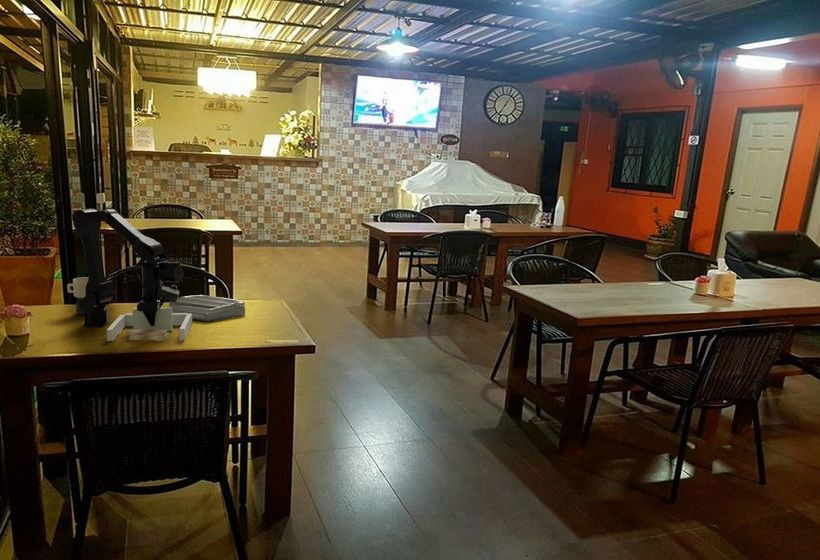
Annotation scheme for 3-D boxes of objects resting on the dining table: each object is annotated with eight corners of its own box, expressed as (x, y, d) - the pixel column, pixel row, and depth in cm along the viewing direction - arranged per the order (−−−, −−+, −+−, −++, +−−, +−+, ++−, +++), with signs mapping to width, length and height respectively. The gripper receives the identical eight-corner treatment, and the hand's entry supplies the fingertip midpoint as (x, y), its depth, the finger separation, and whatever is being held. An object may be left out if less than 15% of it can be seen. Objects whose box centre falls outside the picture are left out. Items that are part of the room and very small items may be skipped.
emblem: (244, 291, 240) (245, 308, 214) (244, 304, 242) (245, 322, 215) (171, 292, 233) (163, 309, 206) (171, 305, 234) (163, 324, 207)
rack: (107, 341, 184) (106, 329, 184) (122, 324, 203) (121, 313, 202) (184, 340, 190) (184, 328, 189) (192, 324, 208) (192, 313, 208)
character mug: (104, 310, 219) (102, 276, 216) (100, 315, 212) (98, 280, 209) (71, 311, 215) (69, 277, 213) (66, 316, 209) (64, 281, 206)
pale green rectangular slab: (133, 332, 196) (132, 309, 194) (134, 330, 198) (134, 307, 196) (171, 331, 199) (171, 309, 197) (172, 330, 200) (172, 307, 199)
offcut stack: (126, 340, 188) (126, 331, 187) (131, 337, 192) (131, 328, 191) (165, 342, 188) (164, 333, 188) (169, 338, 192) (169, 329, 192)
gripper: (173, 286, 188) (174, 332, 191) (181, 274, 205) (182, 317, 208) (135, 286, 185) (137, 333, 188) (147, 274, 203) (148, 317, 206)
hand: (153, 325), depth 198 cm, fingers closed on pale green rectangular slab, 2 cm apart
